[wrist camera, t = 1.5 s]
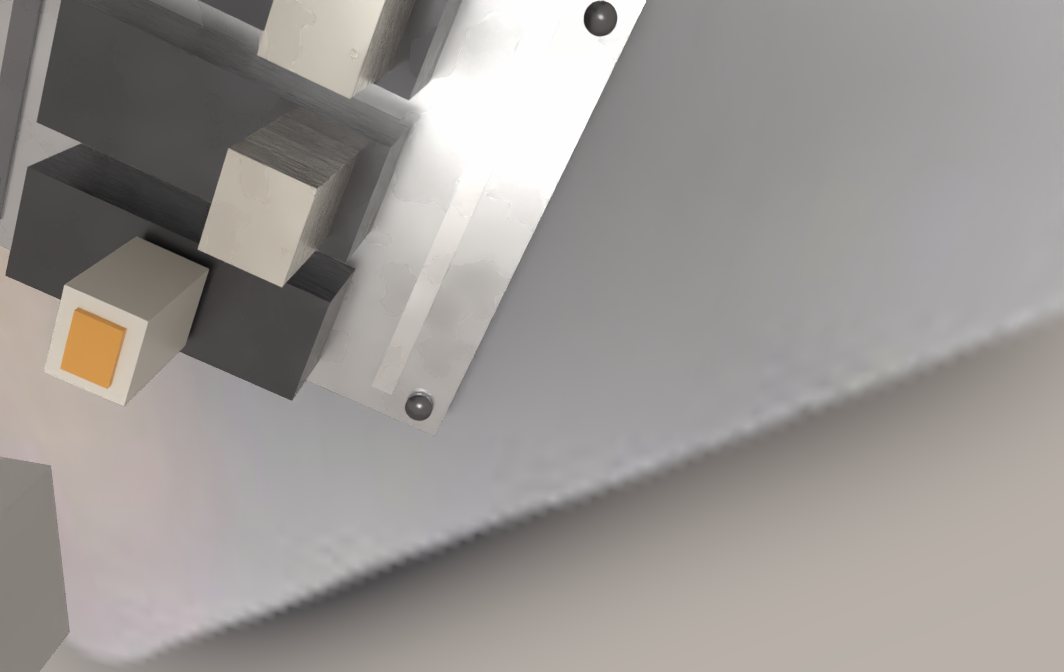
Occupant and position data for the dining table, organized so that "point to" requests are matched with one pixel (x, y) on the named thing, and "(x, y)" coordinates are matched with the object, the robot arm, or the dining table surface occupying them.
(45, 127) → the panel
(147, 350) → the block with orange pad
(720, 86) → the dining table surface
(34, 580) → the robot arm
